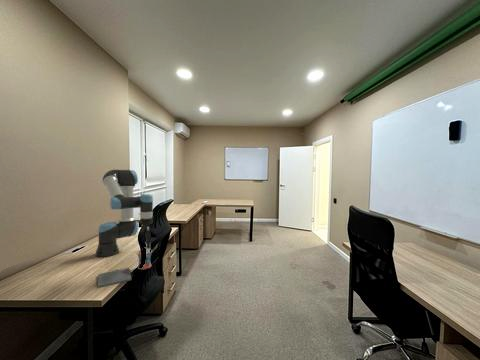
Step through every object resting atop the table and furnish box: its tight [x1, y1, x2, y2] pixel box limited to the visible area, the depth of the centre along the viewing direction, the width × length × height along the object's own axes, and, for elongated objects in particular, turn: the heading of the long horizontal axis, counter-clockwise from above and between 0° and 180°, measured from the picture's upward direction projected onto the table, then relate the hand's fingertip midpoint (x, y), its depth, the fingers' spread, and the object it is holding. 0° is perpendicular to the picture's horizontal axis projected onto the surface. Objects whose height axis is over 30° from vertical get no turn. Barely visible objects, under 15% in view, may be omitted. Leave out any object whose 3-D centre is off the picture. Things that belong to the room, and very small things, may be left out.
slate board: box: [97, 267, 132, 288], centre depth 123 cm, size 16×16×1 cm
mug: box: [136, 249, 153, 271], centre depth 139 cm, size 12×9×11 cm
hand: (146, 250), depth 139 cm, fingers open, 13 cm apart
